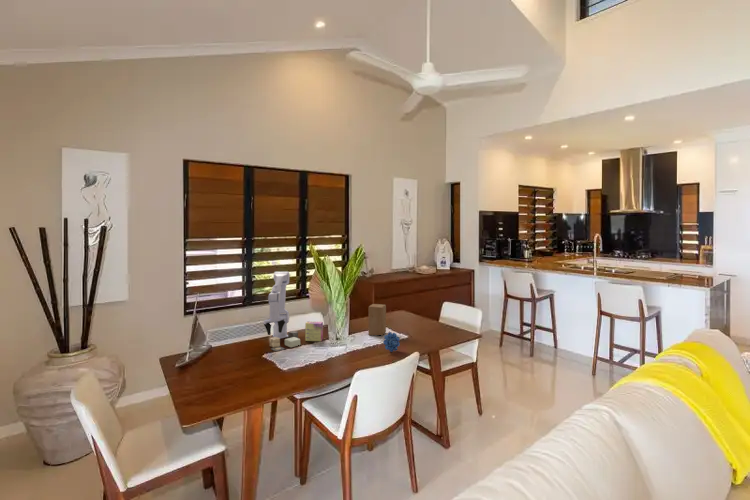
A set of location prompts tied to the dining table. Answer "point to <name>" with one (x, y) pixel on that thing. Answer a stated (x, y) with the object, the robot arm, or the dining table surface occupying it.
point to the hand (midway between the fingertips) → (274, 333)
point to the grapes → (391, 341)
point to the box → (313, 331)
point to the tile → (277, 348)
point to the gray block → (292, 334)
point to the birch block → (274, 342)
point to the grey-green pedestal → (292, 342)
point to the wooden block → (377, 319)
